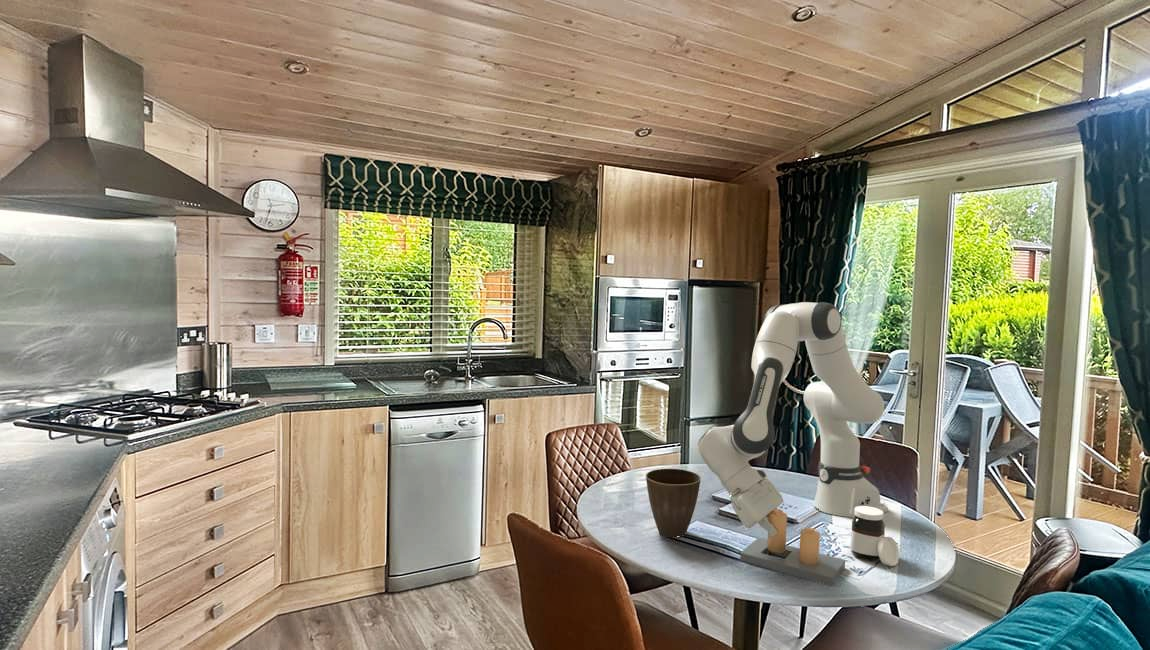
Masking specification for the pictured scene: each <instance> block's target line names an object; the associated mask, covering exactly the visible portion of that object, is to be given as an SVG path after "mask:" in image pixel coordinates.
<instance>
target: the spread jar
mask: <svg viewBox="0 0 1150 650" xmlns="http://www.w3.org/2000/svg"><path fill="white" fill-rule="evenodd" d="M884 513H885V512H883V511H882V510H880V509H877V508H874V507H869V506H858V507H855V512H854V514H855V516H854V517H853V518H852V520H851V534H850V535H851V537H850V539H851V540H850V552H851V554H853V555H854V556H855V557H857V558H860V559H862V560H866V559H868V560H869V561H878V560H880V561H881V563H882V564H883V565H885V566H888V567H889V566H890V567H893V566H894V567H895V566H896V565H897V564H898V562H899V560H900V551H899V550H900V549H899V546H898V544H897V541H896V540H895V539H894V538H893V537H891V536H885V533H886V532H885V530H886V529H885V528H886V527H885V524H886V523H885V521H884ZM868 560H867V561H868Z"/></svg>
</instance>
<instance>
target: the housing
mask: <svg viewBox="0 0 1150 650" xmlns="http://www.w3.org/2000/svg"><path fill="white" fill-rule="evenodd" d="M799 532H800V533H799V534H800V535H799V547H794V546H791V545H787V544H786V550H785V552H783V553H776V552H772V551H769V550H768V549H767V539H764V538H761V537H760V538H759V537H757V538H756V539H755V540H754V541H752V543H750V544H749V545H748V546H747V547H745V548H744V549H743V550H742V551H741V552H740V558H739V561H741V562H744V563H748V564H752V565H755V566H757V567H758V566H759V567H762V568H766V569H769V570H773V571H776V572H780V573H784V574H787V575H791V576H795V577H797V576H798V578H801V579H806V580H808V579H809V581H812V580H813V581H812V582H815V581H817V582H816V583H819V582H821V583H820V584H822V583H824V585H826V584H828V585H827V586H830V585H832V584H833V583H836V581H837V580H838V578H839V577H840V575H842V573H843V572H844V570H845V568H846V560H845V559H842V558H838V557H834V556H830V555H826V554H822V553H820V535H821V533H820V532H819V531H817V530H816V528H812V527H809V526H806V527H805V529H801V530H800V531H799ZM769 554H771V555H769ZM772 555H774V556H772ZM776 556H779V557H782V558H779V557H776ZM836 579H837V580H836ZM833 585H834V584H833ZM833 585H832V586H833Z"/></svg>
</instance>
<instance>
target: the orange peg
mask: <svg viewBox="0 0 1150 650" xmlns="http://www.w3.org/2000/svg"><path fill="white" fill-rule="evenodd" d="M783 511H784V510H782V509H781V508H779V509H778V508H777V509H776V510H773V511H772V512H771V513H769V514H768V515H767V519H768V522H769V523H770V524H772V525H773V526H774V525H775V527H776V528H777V529H778V533H777V534H776V535H774V536H771V535H770V534H769V532H768V531H767V539H766V540H767V549H768V550H769V551H772V552H776V553H783V552H785V550H786V545H787V524H788V514H787V513H786V512H783Z"/></svg>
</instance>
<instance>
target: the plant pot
mask: <svg viewBox="0 0 1150 650" xmlns="http://www.w3.org/2000/svg"><path fill="white" fill-rule="evenodd" d="M645 479H646V489H647V495H648V499H649V504H650V509H651V512H652V517H653V519H654V523H655V525H656V528H657V531H658V533H659V535H661V536H664V537H666V538H671V537H677V536H682V535H684V534H685V533H686V534H687V532H688V529H689V527H690V524H691V521H692V518H693V516H694V512H695V510H696V509H695V508H696V504H697V502H698V501H697V500H698V496H699V493H700V485H701V480H702V478H701V476H700V475H699V474H697V473H696V472H693V471H690V470H685V469H680V468H659V469H654V470H651V471H650V470H649V471H648V472H647V473H646V474H645ZM686 534H685V535H686ZM685 535H684V536H685ZM682 537H683V536H682Z"/></svg>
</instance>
